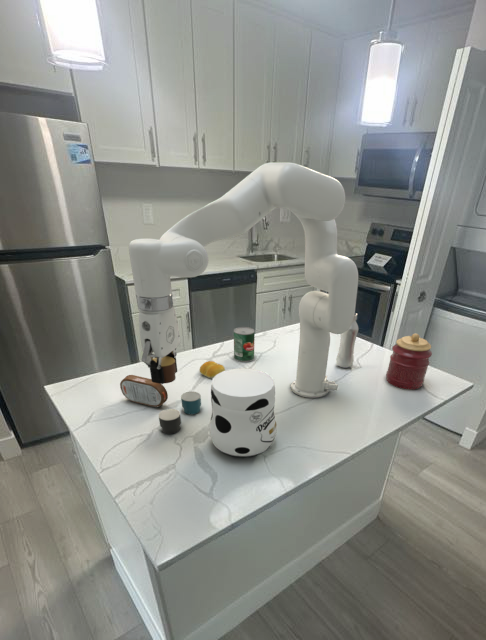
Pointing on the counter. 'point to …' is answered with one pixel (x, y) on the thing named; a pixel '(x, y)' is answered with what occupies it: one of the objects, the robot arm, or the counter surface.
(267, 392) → the milk container
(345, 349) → the plastic bottle
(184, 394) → the cylinder
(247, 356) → the canned tomato
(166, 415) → the black pod
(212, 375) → the bread roll
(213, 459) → the counter surface
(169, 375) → the cylinder
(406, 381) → the kitchen canister
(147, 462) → the counter surface
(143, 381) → the tin
